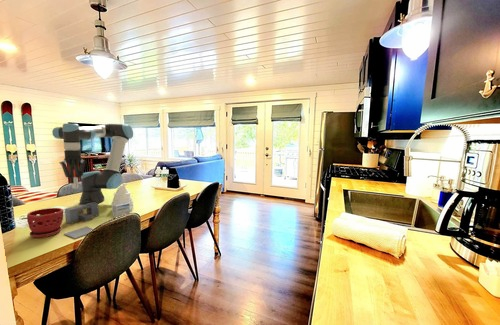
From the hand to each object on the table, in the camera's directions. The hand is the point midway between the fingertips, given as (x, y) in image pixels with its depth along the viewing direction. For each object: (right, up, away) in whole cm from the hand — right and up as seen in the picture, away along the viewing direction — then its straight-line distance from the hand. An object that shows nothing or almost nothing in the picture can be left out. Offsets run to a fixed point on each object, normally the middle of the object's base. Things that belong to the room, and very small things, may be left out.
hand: (75, 187), depth 129 cm
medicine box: (+27, -19, +2) cm, 33 cm away
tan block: (0, -18, +2) cm, 18 cm away
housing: (+6, -19, -1) cm, 19 cm away
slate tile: (+19, -21, -20) cm, 35 cm away
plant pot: (+4, -21, -21) cm, 30 cm away
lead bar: (+6, -19, -1) cm, 20 cm away
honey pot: (+19, -17, +17) cm, 31 cm away
